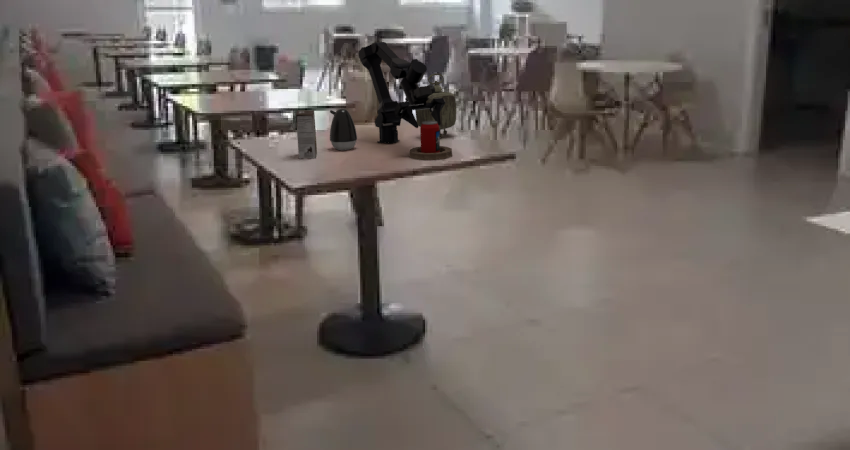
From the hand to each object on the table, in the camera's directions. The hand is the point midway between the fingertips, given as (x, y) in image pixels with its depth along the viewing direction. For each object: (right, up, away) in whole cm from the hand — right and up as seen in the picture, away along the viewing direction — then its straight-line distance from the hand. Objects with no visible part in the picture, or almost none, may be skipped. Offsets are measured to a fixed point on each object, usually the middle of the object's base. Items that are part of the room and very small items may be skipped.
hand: (428, 126), depth 291 cm
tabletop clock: (+4, 0, +36) cm, 36 cm away
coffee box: (-44, -10, +7) cm, 45 cm away
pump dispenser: (-32, -7, +18) cm, 37 cm away
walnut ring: (+1, -10, +2) cm, 11 cm away
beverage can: (+1, -10, +3) cm, 11 cm away
